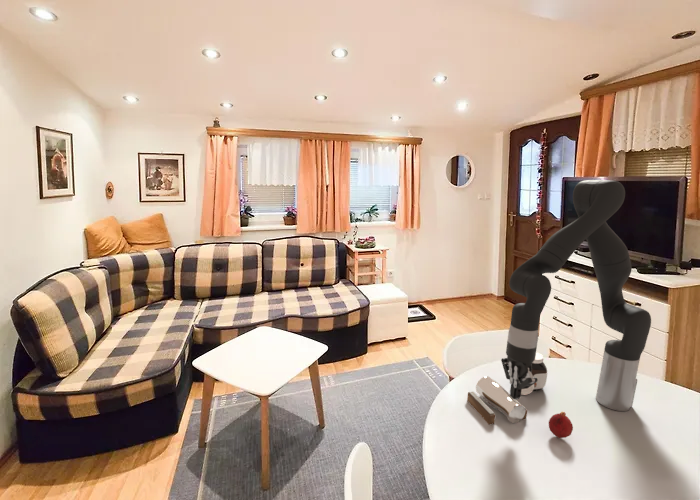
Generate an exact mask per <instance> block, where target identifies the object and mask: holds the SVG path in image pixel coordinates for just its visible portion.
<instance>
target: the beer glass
mask: <svg viewBox="0 0 700 500" xmlns="http://www.w3.org/2000/svg"><path fill="white" fill-rule="evenodd" d="M475 391H476V393H477V394H478V395H479V396H480V398H481V399H483V401H485V402H486V403H487V404H489V405H490V406H491V407H493V408H495V409H496V410H498V412H501V413H502V414H503V415H504V416H505V417H506V418H507V420H508V421H509V422H510V423H512V424H517V423H520V421H523V420H522V418H523V417H524V415H525V408H526V407H525V406H524V405H523V404H521V402H519V401H518V402H519V403H518V402H516V401H515V400H514V399H513V398H512V397H511V396H510V395H509V394H510V393H509V392H508V391H507V389H505V388H504V387H503V385H501V384H500V383H498V382H497V381H496V380H494V379H493V378H492V377H490V376H489V375H488V376H482V377H481V378H480V379H479V380H478V381H477V382H476V385H475ZM508 393H509V394H508Z"/></svg>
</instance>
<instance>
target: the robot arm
mask: <svg viewBox="0 0 700 500" xmlns="http://www.w3.org/2000/svg"><path fill="white" fill-rule="evenodd" d="M625 197H626V190H625V187H624V185H623V184H622V183H621V182H620V181H618V180H614V179H613V180H612V179H611V180H609V179H586V180H581V181H579V182H578V183H577V184H576V185H575V187H574V188H573V191H572V202H573V207H574V209H575V213H576V214H577V219H575V220H574V221H572V222H571V223H569V224H567V225H566V226H564V227H562V228H560V229H559V230H557V231H555V232H554V233H553V234H552V235H551V236H550V237H549V238H548V239H547V240H546V241H545V242H544V243H543V244H542V246H541V248H540V249H539V250H538V251H537V253H536V254H534V255H533V256H532V257H530V258H529V259H527V260H526V261H525V262H523V263H522V264H521V265H519V266H518V267H517V268H516V269H515V270H514V271H513V272H512V273H511V276H510V279H509V282H508V283H509V289H511V291H513V292H514V293H516V294H517V295H520V296H522V297H525V298H526V301H525V302H520V303H516V304H514V305H513V307H512V310H511V316H510V317H511V319H510V324H509V328H508V332H507V341H506V342H507V343H506V350H505V355H506V357H503V358H501V359H500V361H501V364H502V368H503V370H504V374H505V375H504V376H505V378H506V380H508V381H509V384H510V388H509V389H510V390H509V394H510V396H511V397H512V398H513V399H516V400H518V399H520V398H521V396H522V395H521V390H522V389H527V388H529V387H530V386H532V385H533V384H534V383H536V382H537V381H538V380H537V378H536V377H533V375H532V373H531V372H532V365H531V364H532V362H533V361H534V360H535V356H536V352H537V347H538V340H539V325H540V319H541V314H542V312H543V310H544V308H545V305H546V304H547V301H548V300H549V298H550V295H551V292H552V283H551V281H550V279H549V277H548V276H546V275H544V274H556V273H558V272H559V271H560V270H561V269H562V267H563V266H564V265H565V263H566V262H567V261H568V260H569V259H570V257H571V256H572V255H573V253H575V251H576V250H577V249H578V248H579V247H580V246H581V245H582V244H583V242H585V240H586V243H587V246H588V249H589V253H590V257H591V258H590V259H591V263H592V266H593V270H594V273H595V276H596V279H597V284H598V290H599V293H600V300H601V310H602V316H603V317H602V318H603V321H604V323H605V325H606V326H607V327H608V328H610V329H612V330H613V331H616V332H618V333H621V334H622V337H621V339H610V340H607V341H606V342H605V346H604V349H603V356H602V362H601V366H600V373H599V378H598V384H597V387H596V388H597V389H596V393H595V394H596V395H595V401H597V402H598V403H599V404H600V405H601V406H602V407H605V408H606V409H610V410H613V411H617V412H628V411H629V410H630V408H632V407H633V404H634V401H635V400H634V399H635V395H636V394H635V393H636V391H637V390H636V389H637V385H638V379H637V376H638V375H637V374H638V370H639V369H638V368H639V365H640V360H641V355H642V353H643V351H644V350H645V348H646V344H647V340H648V336H649V333H650V330H651V326H652V325H651V324H652V317H651V314H650V313H649V311H648V310H646V309H644V308H641V307H639V306H635V305H633V304H630V303H627V302H626V300H625V298H624V295H623V287H624V285H626V284H625V283H626V282H627V281H628V279H629V278H630V275H631V273H632V261H631V257H630V252H629V250H628V247H627V246H626V244H625V242H624V241H623V240H622V239H621V238H620V237H619V236H618V234H616V233H615V231H614V230H613V229H612V228H611V227H610V225H608V223H607V221H608V220H609V219H610V218H611V217H612V216H614V214H616V213H617V212H618V211H619V209H620V208H621V207H622V205H623V204H624V201H625V199H626V198H625Z"/></svg>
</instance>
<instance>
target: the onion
mask: <svg viewBox="0 0 700 500" xmlns="http://www.w3.org/2000/svg"><path fill="white" fill-rule="evenodd" d="M566 414H567V413H566V412H565V411H561V412H560V413H555V414H553V415H552V416H551V417H550V418H549V420H548V428H549V431H550V432H551V434H553V436H555V437H556V438H558V439H564V438H568V437H570V436H571V435H572V432H573V431H574V426H573V423H572V421H571V419H570V418H569V417H568V416H566Z"/></svg>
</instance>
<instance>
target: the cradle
mask: <svg viewBox="0 0 700 500" xmlns="http://www.w3.org/2000/svg"><path fill="white" fill-rule="evenodd" d="M508 394H509V395H510V392H508ZM514 400H515V401H516V402H518V403H520V402H519V401H518V399H514ZM466 401H467V402H468V404H469V405H471V407H472V408H473V409H474V410H475V411H476V412H477V413H478V415H479V416H480V417H481V418H482V419H483V420H484V421H485V423H487V424H488V425H489V426H490V425H495V421H496V414H495V412H494V411H493V410H492V409H491V408H490V407H489V406H488V405H487V404H486V403H485V402H484V400H482V398H481V397H479V396H478V395H477V394H476V393H475V392H474V391H469V392H467V398H466ZM527 416H528V409H527V408H526V407H525V415H524V417H523V418H522V420H521V421H523V420H527Z"/></svg>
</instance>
